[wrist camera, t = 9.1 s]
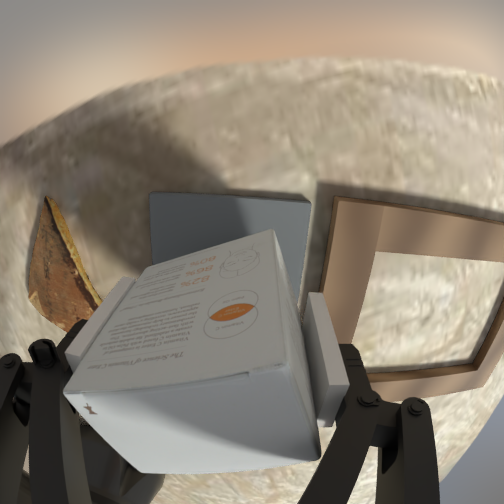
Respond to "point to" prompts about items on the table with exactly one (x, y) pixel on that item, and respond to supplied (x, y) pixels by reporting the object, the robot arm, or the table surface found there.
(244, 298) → the small box
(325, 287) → the wooden picture frame
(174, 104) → the table surface
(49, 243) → the shard
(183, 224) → the pad
